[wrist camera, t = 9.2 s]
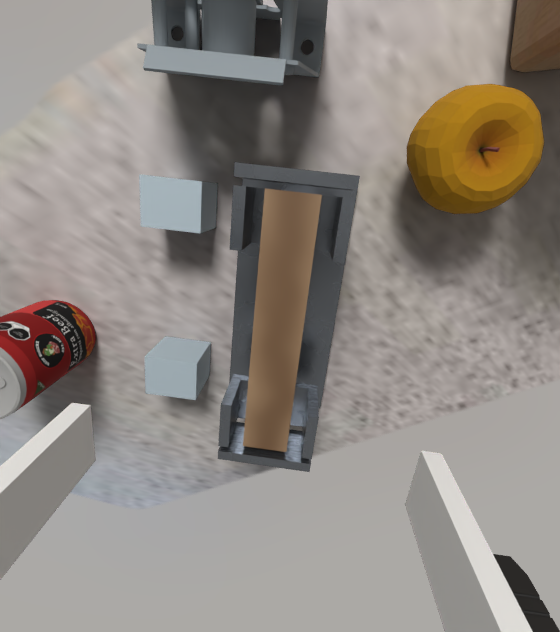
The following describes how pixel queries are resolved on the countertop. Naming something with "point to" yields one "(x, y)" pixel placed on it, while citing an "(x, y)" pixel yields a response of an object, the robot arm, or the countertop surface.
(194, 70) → the bracket
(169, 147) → the countertop surface
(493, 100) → the apple
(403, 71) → the countertop surface
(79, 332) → the canned food
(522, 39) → the wooden block
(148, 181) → the rest block
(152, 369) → the rest block
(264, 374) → the rail
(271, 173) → the bracket
